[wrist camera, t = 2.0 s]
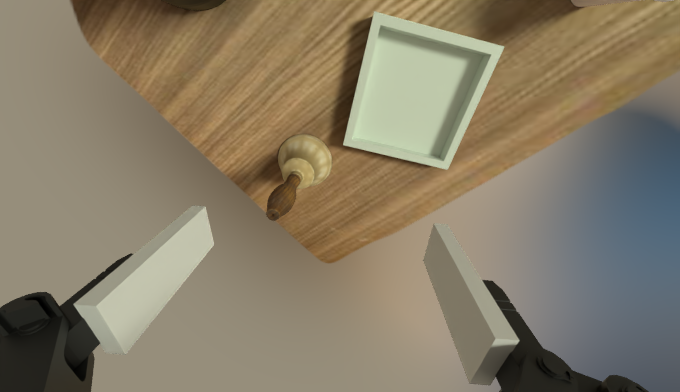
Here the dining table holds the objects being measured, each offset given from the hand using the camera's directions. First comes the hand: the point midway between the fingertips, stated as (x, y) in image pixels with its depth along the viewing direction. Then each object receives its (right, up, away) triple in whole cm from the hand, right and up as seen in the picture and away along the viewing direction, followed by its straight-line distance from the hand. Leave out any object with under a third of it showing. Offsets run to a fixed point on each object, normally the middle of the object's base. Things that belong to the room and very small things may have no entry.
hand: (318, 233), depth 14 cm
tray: (+11, +15, +18) cm, 26 cm away
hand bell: (-4, +8, +23) cm, 24 cm away
